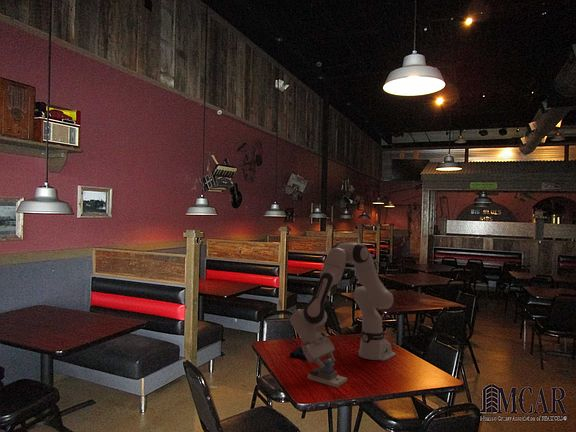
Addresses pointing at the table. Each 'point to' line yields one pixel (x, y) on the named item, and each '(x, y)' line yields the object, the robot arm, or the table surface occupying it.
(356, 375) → the table surface
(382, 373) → the table surface
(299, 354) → the gun
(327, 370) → the block
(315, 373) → the chassis
